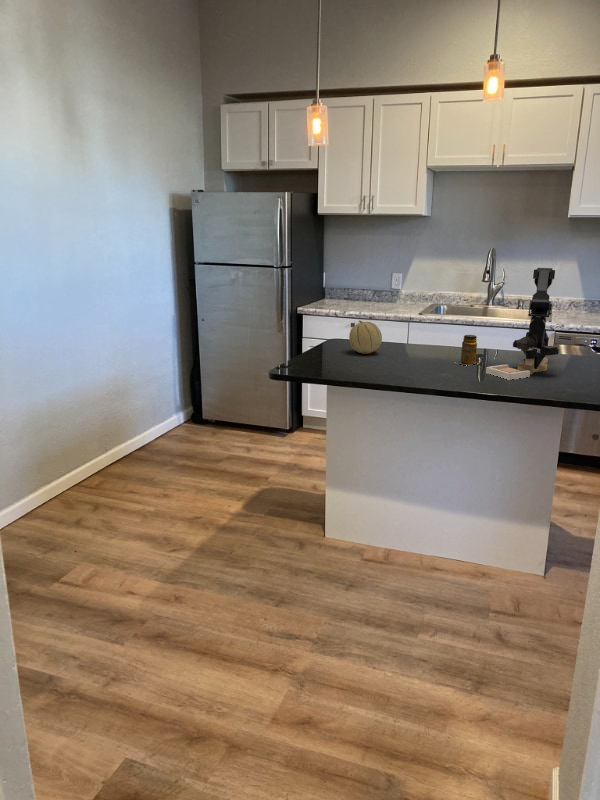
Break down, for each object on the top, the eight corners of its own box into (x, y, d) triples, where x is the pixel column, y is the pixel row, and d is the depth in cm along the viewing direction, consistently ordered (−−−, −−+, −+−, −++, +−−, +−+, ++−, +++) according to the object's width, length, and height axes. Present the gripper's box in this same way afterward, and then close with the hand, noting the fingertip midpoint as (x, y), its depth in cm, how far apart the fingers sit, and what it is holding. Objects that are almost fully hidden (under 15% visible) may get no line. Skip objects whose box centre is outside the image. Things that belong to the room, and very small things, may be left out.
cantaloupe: (382, 357, 270) (384, 323, 266) (349, 356, 271) (350, 323, 266) (379, 350, 285) (380, 318, 280) (347, 350, 285) (348, 318, 281)
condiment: (479, 364, 258) (482, 336, 255) (465, 366, 254) (468, 338, 250) (466, 360, 264) (468, 333, 261) (452, 363, 260) (454, 335, 256)
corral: (506, 370, 247) (506, 364, 246) (529, 377, 236) (530, 371, 236) (485, 373, 242) (486, 367, 242) (508, 380, 232) (509, 373, 231)
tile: (508, 373, 244) (509, 367, 243) (519, 376, 239) (520, 370, 238) (497, 375, 241) (498, 368, 240) (508, 378, 236) (509, 372, 235)
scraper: (537, 368, 251) (539, 356, 250) (551, 371, 245) (552, 359, 244) (517, 370, 246) (518, 358, 245) (530, 374, 240) (532, 361, 239)
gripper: (504, 327, 245) (500, 365, 250) (540, 335, 229) (535, 375, 234) (525, 325, 250) (521, 362, 254) (561, 333, 234) (556, 372, 238)
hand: (532, 368), depth 245 cm, fingers closed on scraper, 2 cm apart
